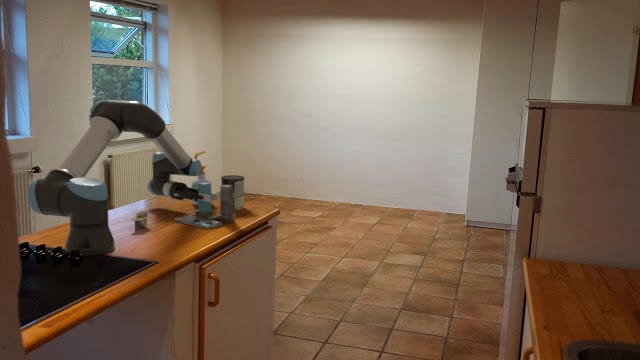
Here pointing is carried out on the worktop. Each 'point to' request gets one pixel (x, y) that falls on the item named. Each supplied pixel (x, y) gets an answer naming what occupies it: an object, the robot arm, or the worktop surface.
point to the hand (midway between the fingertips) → (213, 197)
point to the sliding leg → (203, 205)
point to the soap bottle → (200, 179)
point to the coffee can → (235, 189)
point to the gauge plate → (198, 222)
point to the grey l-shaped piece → (222, 207)
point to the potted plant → (140, 220)
